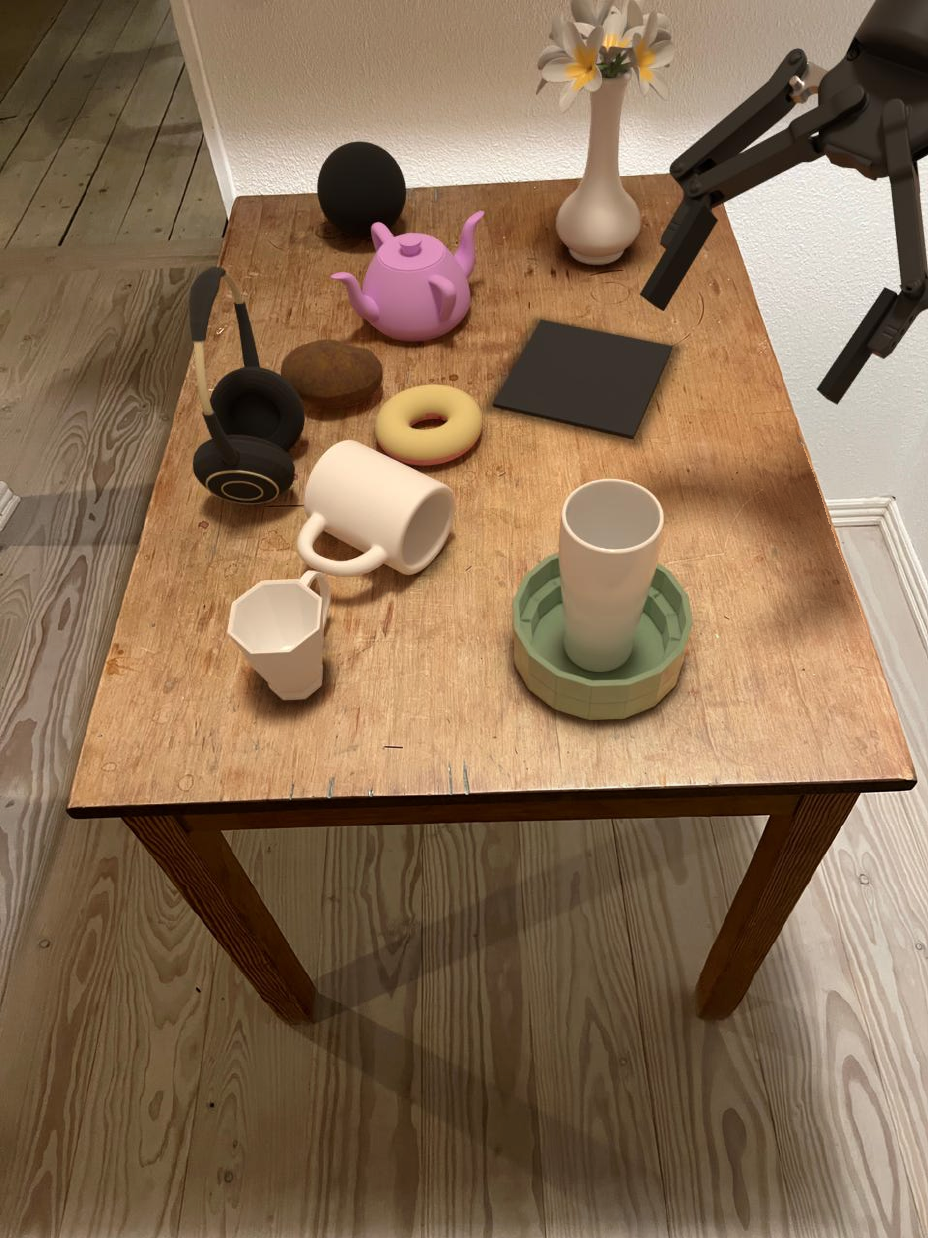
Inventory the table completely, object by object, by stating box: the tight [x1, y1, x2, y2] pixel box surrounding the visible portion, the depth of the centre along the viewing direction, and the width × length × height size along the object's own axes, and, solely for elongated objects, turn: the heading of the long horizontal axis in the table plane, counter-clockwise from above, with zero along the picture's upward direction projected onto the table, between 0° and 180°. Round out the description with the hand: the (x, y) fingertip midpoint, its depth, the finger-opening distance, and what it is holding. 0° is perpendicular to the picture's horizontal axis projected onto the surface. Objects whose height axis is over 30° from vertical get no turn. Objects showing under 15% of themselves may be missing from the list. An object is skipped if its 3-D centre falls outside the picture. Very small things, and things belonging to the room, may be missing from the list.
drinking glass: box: [558, 478, 665, 672], centre depth 67 cm, size 7×7×15 cm
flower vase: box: [535, 0, 677, 266], centre depth 96 cm, size 13×18×25 cm
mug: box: [296, 439, 457, 578], centre depth 77 cm, size 12×10×8 cm
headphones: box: [188, 266, 306, 505], centre depth 79 cm, size 9×15×20 cm, turn 179°
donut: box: [374, 383, 484, 466], centre depth 88 cm, size 10×5×9 cm
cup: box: [226, 570, 332, 701], centre depth 71 cm, size 7×10×8 cm
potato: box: [280, 338, 384, 409], centre depth 90 cm, size 7×10×6 cm
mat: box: [492, 319, 673, 440], centre depth 93 cm, size 14×14×1 cm
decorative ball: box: [316, 141, 407, 240], centre depth 107 cm, size 10×10×10 cm
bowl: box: [512, 551, 694, 721], centre depth 71 cm, size 13×13×5 cm
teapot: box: [330, 210, 485, 343], centre depth 97 cm, size 12×14×9 cm
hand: (734, 348), depth 60 cm, fingers open, 13 cm apart
